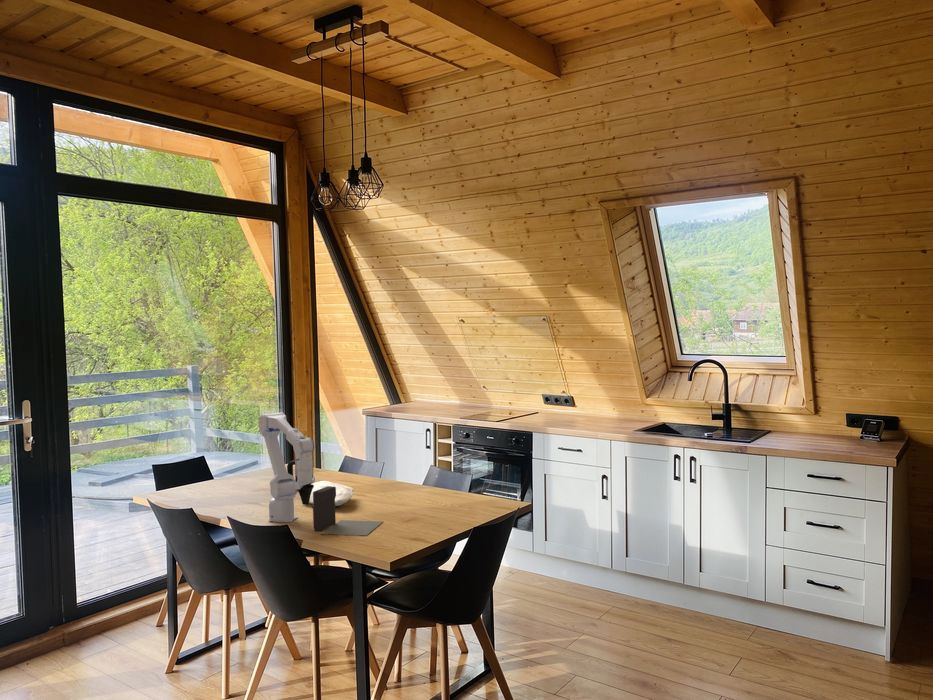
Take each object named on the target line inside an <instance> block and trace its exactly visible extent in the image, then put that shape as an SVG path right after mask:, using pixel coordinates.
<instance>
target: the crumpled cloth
mask: <svg viewBox="0 0 933 700" xmlns="http://www.w3.org/2000/svg"><path fill="white" fill-rule="evenodd" d="M311 485H314V487H313V489H312V492H311V495H310V501H309V503H311V504H313V492H314V491H317V490H319V489H322V488H325V487H327V486H332V487H336V497H335V507H338V506H342V505H344V504H346V503H347V502H348V501H350V500H351V498H352V497H353V496H354V492H355V489H354V488H353V487H352V486H348V485H345V484H342V483H337V482H332V481H328V480H320V481H315V482H314V483H312V484H311Z"/></svg>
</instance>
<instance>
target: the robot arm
mask: <svg viewBox="0 0 933 700" xmlns="http://www.w3.org/2000/svg"><path fill="white" fill-rule="evenodd" d="M258 427H259V431H260V434H261V437H263V438H264V442H265V445H266V449H267V454H268V456H269V457H268V458H269V460H270V465H271V469H272V471H273V477H272V478H271V480H270V481H269V487H270V488H269V489H270V490H269V492H270V495H271V497H272V498H271V499H270V500H269V503H268V517H269V518H268V519H269V520H268V522H270V521H273V523H275V522H276V523H278V522H279V523H291V522H292V521H294V520H296V519H298V518H299V516H297V515H295V501H294V498H296V495H297V494H299V496H300V499H301V504H302V505H309V503H310V502H309V501H310V495H311V492H312V489H313V487H314V485H310V483H315V482H316V477H315V476H313V477H312V457H313V456H312V453H313V452H314V450H315V441H314V440H313V439H312V437H306V436H305V435H304V434H303V433H302V432H301V431H300V430H299V429H298V428H297V427H296V428H294V427H292V426H291V425H290V423H289V422H288V421H287V415H286V414H285V413H284V412H283V411H280V412H275V413H262V414H260V416H259V418H258ZM282 433H283V434H284V435H285V440H286V441H288V442H289V443H290V445H291V446H292V447H293V451H294V457H295V458H297V482H296V481H295V475H293V476H292V475H291V474H289V473H287V466H286V464H285V460H284V456H283V453H282V449H281V445H280V442H279V438H278V437H279V435H281V434H282Z"/></svg>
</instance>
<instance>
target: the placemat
mask: <svg viewBox="0 0 933 700" xmlns="http://www.w3.org/2000/svg"><path fill="white" fill-rule="evenodd" d="M383 523H384V521H381V520H380V521H377V520H375V521H374V520H351V519H350V520H345V519H342V520H341V519H340V520H339V521H337V522H336V524H334V525H332V526H330V527H328V528H326V529H324V530H323V531H322V532H320V535H321V534H324V535H325V534H326V535H325V536H329V535H328V534H331V535H330V536H348V535H360V536H359V537H367V536H368V535H370V534H371V533H372V532H373V531H374V530H376V529H377V528H378V527H379V526H380V524H381V525H382V524H383ZM375 528H376V529H375ZM371 531H372V532H371ZM370 532H371V533H370ZM332 534H333V535H332ZM361 535H362V536H361Z"/></svg>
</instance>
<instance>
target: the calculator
mask: <svg viewBox="0 0 933 700" xmlns="http://www.w3.org/2000/svg"><path fill="white" fill-rule="evenodd" d="M335 497H336V487H332V486H327V487H325V488H322V489H319V490H317V491H314V492H313V503H312V517H313V518H312V519H313V521H312V523H313V524H312V525H313V530H314V531H316V532H317V531H318V532H321V531H322V532H323V531H325V530H327V529H328V528H330V527H331V526H333V525H334V524H336V523H337V522H336V506H335Z"/></svg>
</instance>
